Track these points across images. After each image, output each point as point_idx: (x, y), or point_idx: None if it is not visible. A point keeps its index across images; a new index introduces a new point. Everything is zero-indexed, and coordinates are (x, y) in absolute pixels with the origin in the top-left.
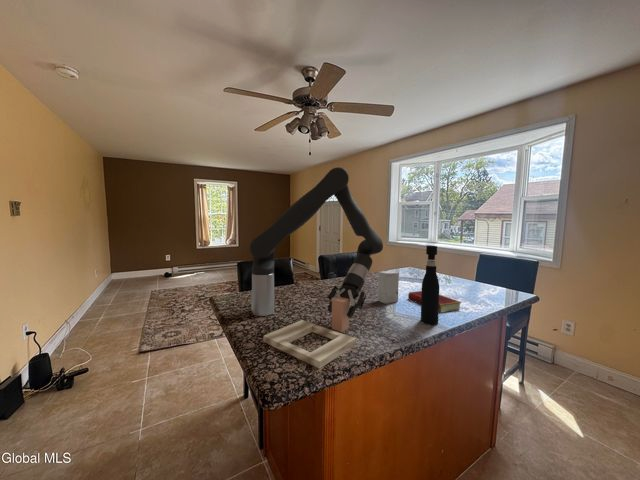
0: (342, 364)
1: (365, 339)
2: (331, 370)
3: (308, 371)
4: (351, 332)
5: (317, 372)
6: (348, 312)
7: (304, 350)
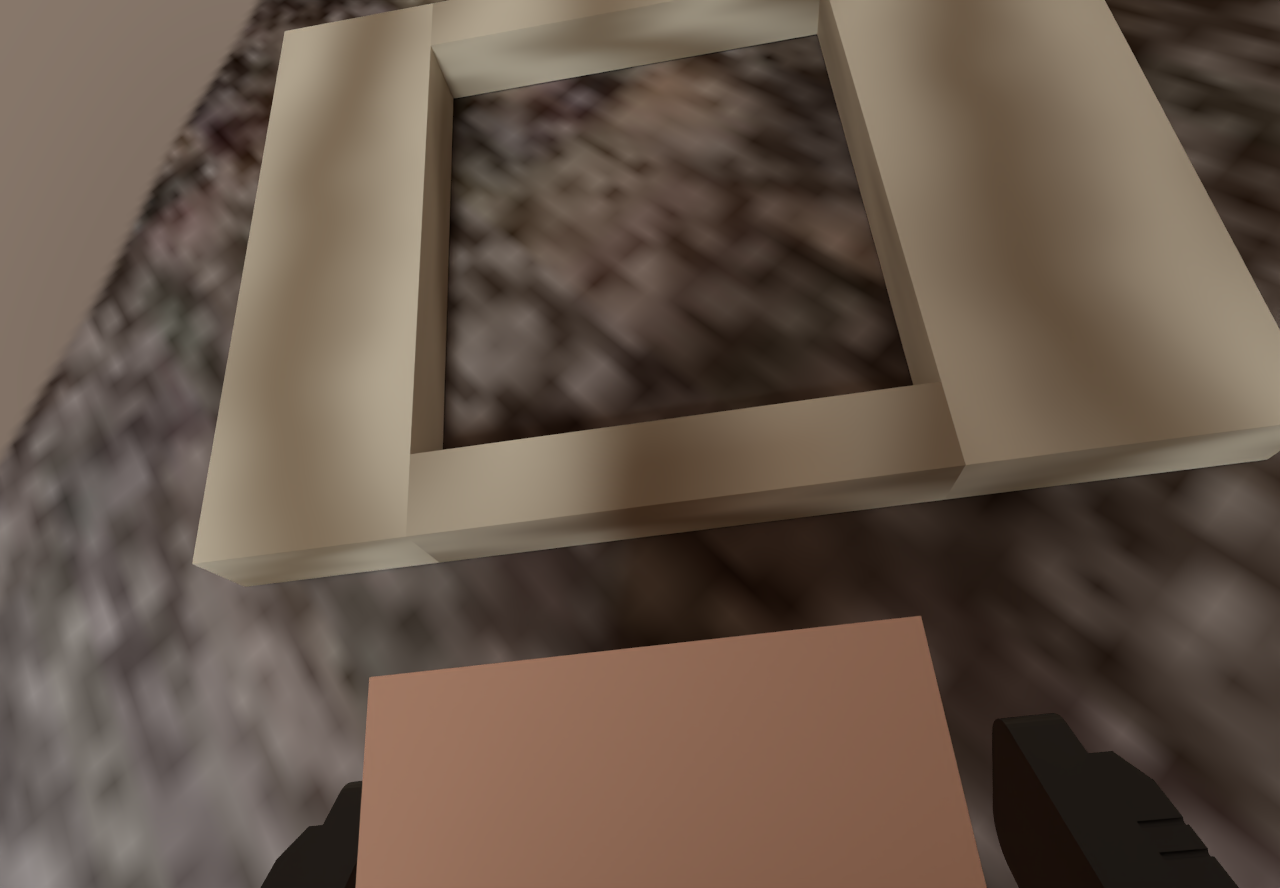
0: (198, 225)
1: (189, 819)
2: (234, 127)
3: None
4: None
5: None
6: (345, 830)
7: (499, 25)
